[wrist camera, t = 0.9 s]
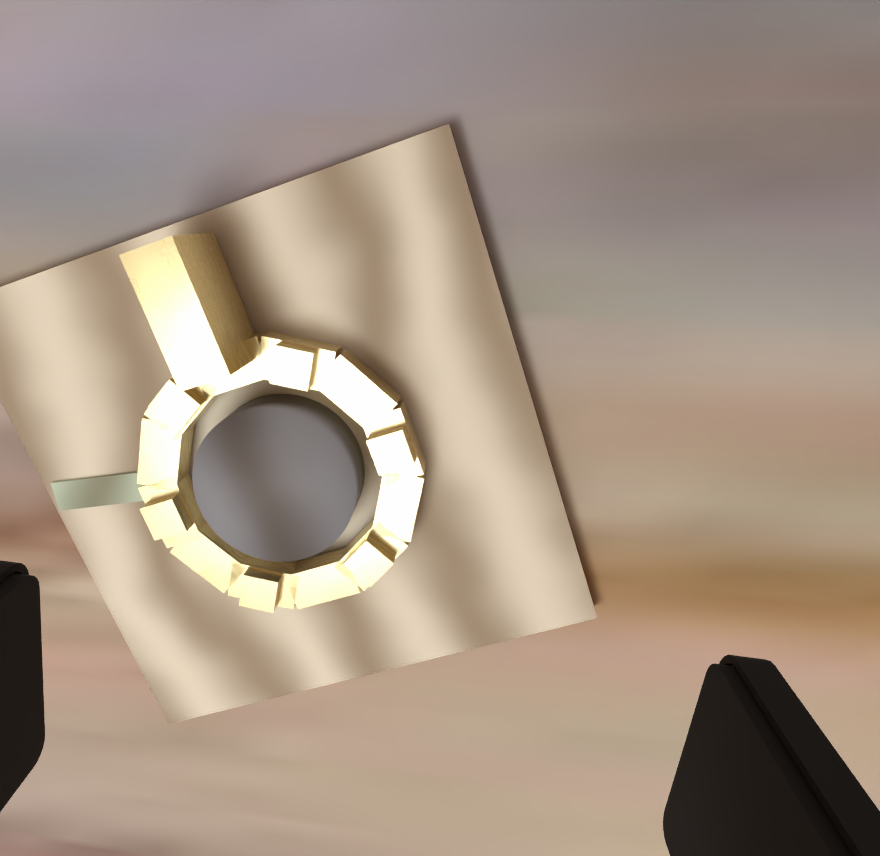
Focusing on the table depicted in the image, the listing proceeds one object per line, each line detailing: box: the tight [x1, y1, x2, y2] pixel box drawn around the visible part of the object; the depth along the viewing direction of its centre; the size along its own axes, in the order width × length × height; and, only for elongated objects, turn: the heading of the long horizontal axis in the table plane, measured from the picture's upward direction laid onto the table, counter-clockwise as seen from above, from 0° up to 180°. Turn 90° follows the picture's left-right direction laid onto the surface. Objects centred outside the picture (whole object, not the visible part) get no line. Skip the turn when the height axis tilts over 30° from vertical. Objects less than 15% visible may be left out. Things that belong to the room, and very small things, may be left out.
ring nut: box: [119, 233, 426, 613], centre depth 33 cm, size 14×19×5 cm
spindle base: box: [0, 124, 597, 724], centre depth 35 cm, size 26×26×4 cm
